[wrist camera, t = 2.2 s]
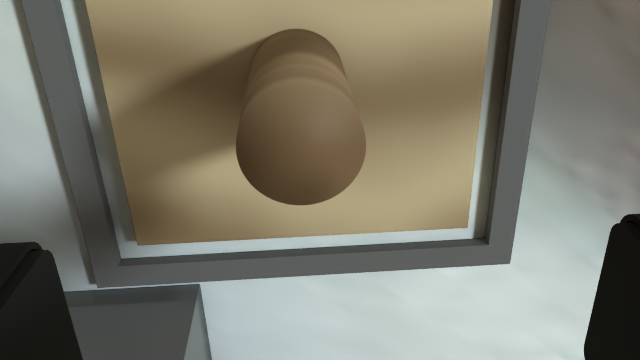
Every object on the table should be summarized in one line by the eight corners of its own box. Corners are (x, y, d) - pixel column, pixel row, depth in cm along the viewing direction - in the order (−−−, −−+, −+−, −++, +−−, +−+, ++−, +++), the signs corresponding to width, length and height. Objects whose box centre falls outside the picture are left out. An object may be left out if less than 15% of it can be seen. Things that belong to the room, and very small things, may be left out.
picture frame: (-29, -218, 15) (-38, -222, 15) (579, -234, 16) (588, -237, 16) (101, 280, 23) (97, 288, 23) (505, 256, 24) (509, 263, 23)
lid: (69, -137, 17) (-60, -151, 11) (496, -149, 17) (618, -169, 11) (144, 228, 23) (90, 360, 17) (459, 212, 23) (524, 333, 17)
